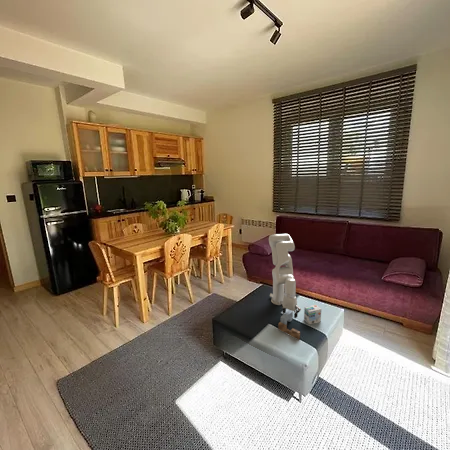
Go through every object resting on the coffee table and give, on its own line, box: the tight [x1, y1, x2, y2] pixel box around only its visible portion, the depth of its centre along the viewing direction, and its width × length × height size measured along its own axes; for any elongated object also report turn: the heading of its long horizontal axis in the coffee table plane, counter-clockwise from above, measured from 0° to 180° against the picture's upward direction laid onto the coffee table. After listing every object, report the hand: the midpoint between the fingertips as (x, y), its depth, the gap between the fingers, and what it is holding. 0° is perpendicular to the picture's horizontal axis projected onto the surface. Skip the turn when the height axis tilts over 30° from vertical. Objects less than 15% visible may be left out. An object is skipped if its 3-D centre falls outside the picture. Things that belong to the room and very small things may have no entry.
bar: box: [279, 310, 294, 326], centre depth 179 cm, size 3×12×7 cm, turn 134°
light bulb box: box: [303, 304, 322, 325], centre depth 179 cm, size 11×7×11 cm, turn 105°
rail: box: [277, 321, 301, 341], centre depth 167 cm, size 16×2×5 cm, turn 44°
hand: (289, 315), depth 180 cm, fingers open, 9 cm apart
